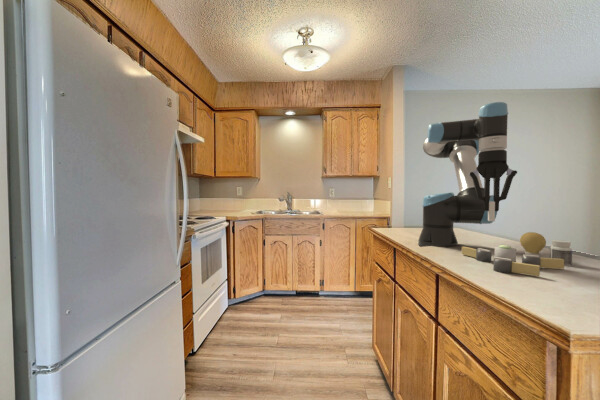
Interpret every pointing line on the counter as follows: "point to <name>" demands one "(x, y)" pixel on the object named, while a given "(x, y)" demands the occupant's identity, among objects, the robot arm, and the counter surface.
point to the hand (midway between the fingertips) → (491, 220)
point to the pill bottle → (561, 251)
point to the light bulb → (532, 243)
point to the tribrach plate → (505, 252)
